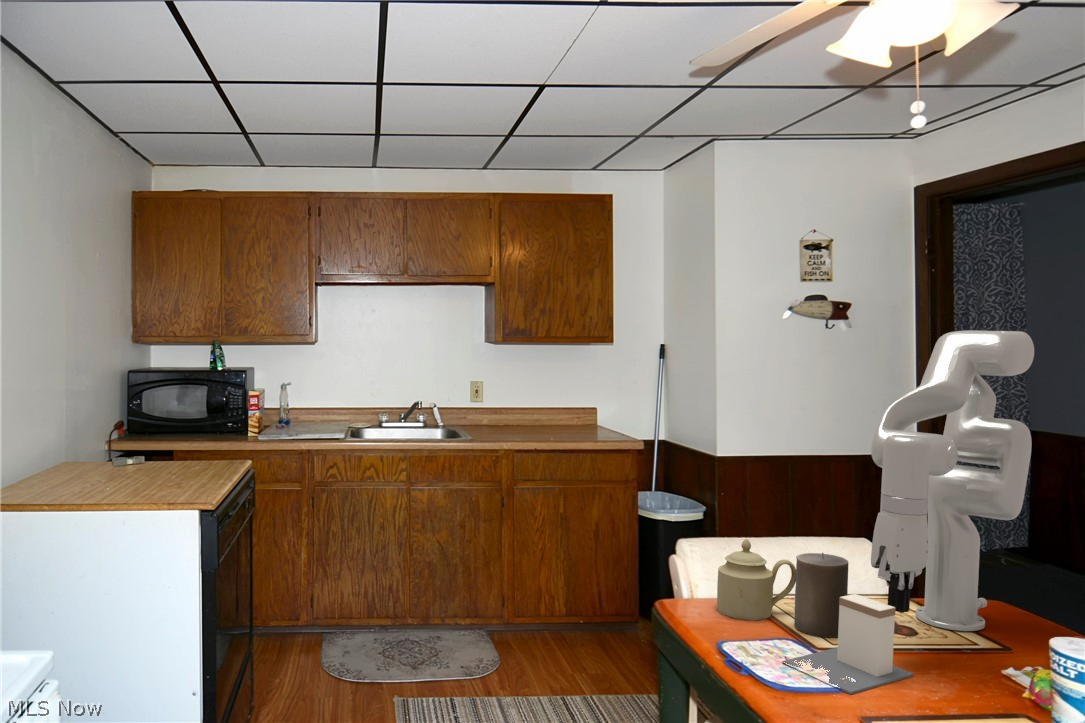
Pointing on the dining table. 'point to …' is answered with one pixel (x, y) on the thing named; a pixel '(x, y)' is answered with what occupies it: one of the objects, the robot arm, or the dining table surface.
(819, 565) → the pillar candle
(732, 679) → the dining table surface
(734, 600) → the sugar bowl
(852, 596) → the slab
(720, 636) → the dining table surface
